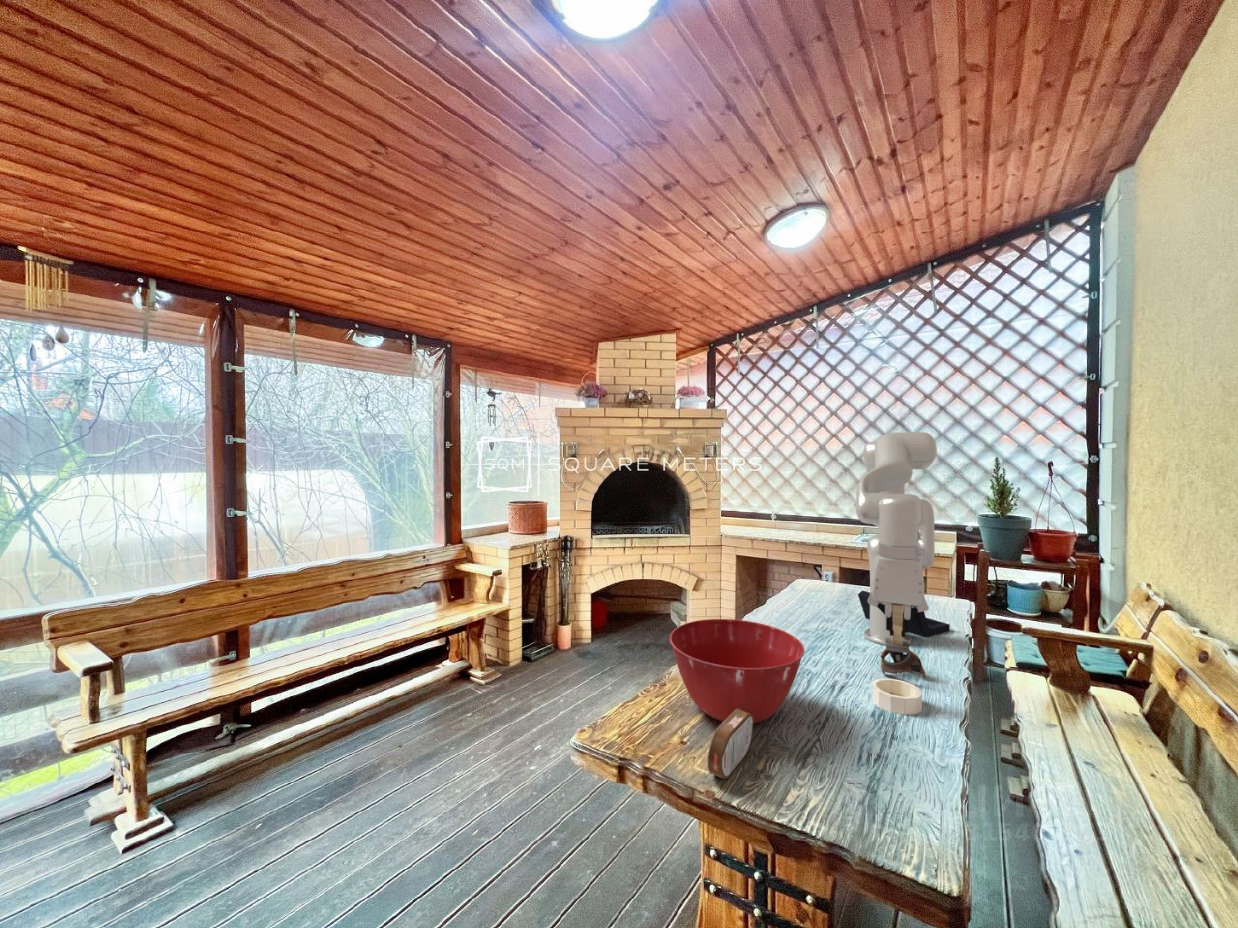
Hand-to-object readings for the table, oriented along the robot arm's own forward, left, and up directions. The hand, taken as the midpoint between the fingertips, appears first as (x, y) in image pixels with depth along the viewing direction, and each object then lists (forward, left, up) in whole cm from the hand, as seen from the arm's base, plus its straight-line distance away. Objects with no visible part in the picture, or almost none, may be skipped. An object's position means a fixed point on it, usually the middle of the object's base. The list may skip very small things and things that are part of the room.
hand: (897, 634), depth 113 cm
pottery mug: (-19, +3, -17) cm, 25 cm away
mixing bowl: (+18, -32, -16) cm, 40 cm away
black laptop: (-60, +5, -16) cm, 62 cm away
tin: (+38, -28, -16) cm, 50 cm away
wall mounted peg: (0, 0, -3) cm, 3 cm away
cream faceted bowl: (0, 0, -16) cm, 16 cm away
